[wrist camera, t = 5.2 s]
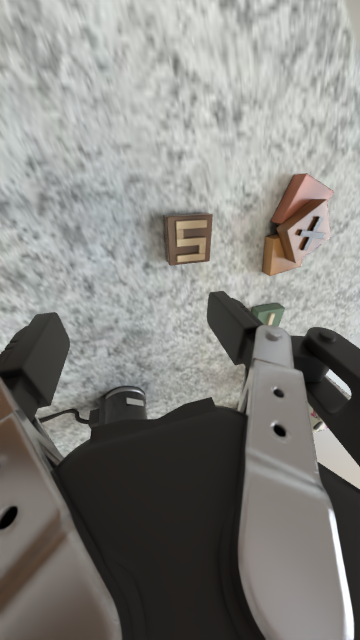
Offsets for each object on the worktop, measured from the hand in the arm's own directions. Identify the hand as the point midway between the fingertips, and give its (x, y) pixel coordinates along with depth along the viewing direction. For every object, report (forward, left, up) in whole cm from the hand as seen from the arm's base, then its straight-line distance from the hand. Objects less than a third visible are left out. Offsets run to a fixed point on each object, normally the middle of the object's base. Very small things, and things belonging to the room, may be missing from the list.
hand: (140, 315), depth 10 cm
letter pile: (+25, 0, -18) cm, 31 cm away
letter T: (+25, -17, -18) cm, 35 cm away
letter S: (+8, 0, -18) cm, 20 cm away
